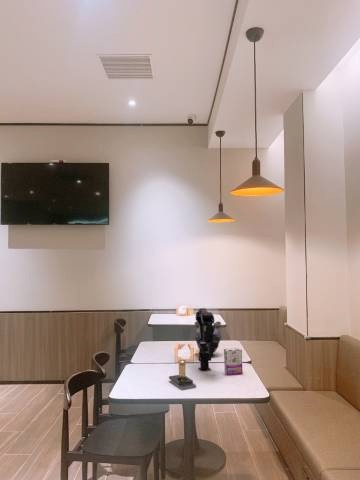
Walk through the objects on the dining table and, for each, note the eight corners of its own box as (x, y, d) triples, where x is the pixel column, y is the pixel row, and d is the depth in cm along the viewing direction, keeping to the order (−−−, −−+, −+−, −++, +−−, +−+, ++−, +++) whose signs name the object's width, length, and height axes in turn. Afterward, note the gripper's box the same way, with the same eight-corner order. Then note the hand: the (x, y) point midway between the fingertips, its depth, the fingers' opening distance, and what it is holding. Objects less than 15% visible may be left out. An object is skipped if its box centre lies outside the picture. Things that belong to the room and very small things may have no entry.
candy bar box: (240, 372, 241) (239, 347, 242) (242, 374, 236) (242, 349, 237) (224, 373, 239) (223, 348, 240) (226, 375, 234) (226, 350, 235)
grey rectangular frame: (169, 381, 225) (169, 376, 225) (182, 378, 229) (182, 374, 229) (181, 390, 208) (181, 385, 208) (196, 387, 212) (196, 382, 212)
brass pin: (177, 383, 220) (176, 360, 221) (184, 382, 222) (183, 359, 223) (180, 386, 215) (180, 362, 216) (187, 384, 217) (187, 361, 218)
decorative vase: (193, 358, 276) (193, 322, 279) (195, 353, 295) (195, 318, 297) (221, 359, 274) (220, 322, 276) (221, 354, 292) (221, 319, 294)
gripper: (225, 332, 231) (225, 357, 230) (210, 328, 248) (211, 351, 247) (210, 334, 226) (210, 359, 225) (196, 329, 243) (197, 353, 242)
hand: (207, 355), depth 235 cm, fingers open, 9 cm apart
